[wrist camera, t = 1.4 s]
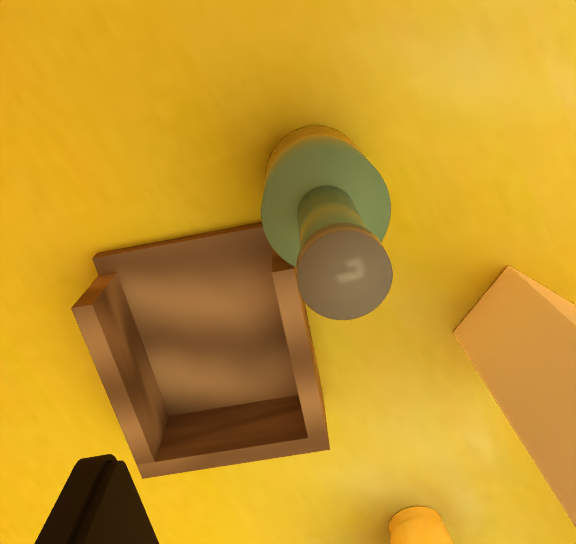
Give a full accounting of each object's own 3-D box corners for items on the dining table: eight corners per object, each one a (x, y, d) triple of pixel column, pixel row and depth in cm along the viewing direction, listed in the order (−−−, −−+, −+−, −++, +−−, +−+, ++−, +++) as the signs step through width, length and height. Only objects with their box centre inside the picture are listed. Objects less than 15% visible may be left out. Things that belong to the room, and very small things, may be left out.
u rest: (96, 253, 31) (63, 289, 26) (288, 218, 30) (289, 247, 25) (160, 423, 36) (142, 478, 31) (323, 397, 35) (329, 449, 31)
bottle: (257, 136, 28) (234, 206, 14) (356, 116, 28) (431, 170, 14) (276, 229, 30) (272, 368, 16) (368, 212, 30) (442, 340, 16)
